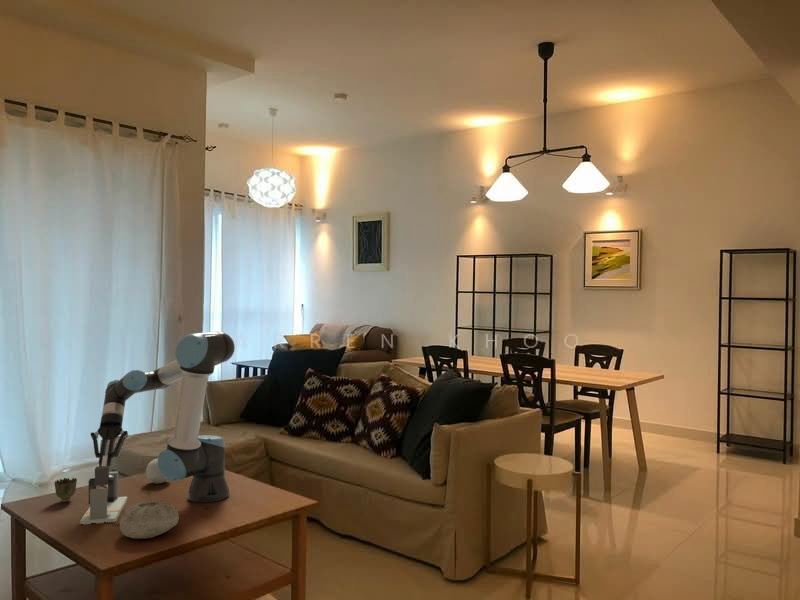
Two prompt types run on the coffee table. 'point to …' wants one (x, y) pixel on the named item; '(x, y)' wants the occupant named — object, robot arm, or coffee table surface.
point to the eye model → (154, 472)
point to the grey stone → (148, 519)
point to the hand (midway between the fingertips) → (103, 473)
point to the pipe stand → (103, 504)
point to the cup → (65, 489)
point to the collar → (103, 482)
